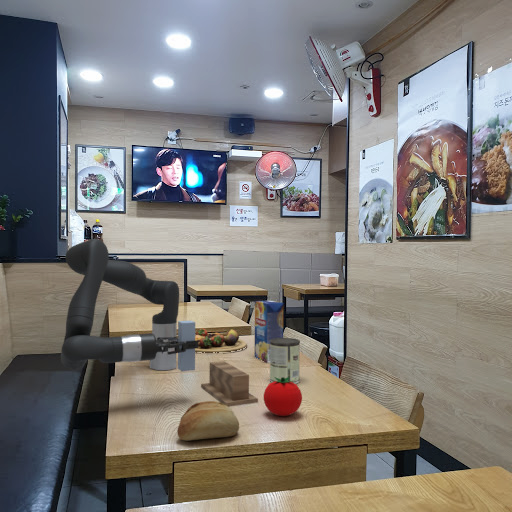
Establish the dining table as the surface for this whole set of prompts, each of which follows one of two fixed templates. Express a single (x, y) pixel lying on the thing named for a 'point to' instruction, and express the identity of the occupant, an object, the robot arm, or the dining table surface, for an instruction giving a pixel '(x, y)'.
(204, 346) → the wooden plate with food
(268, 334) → the juice carton
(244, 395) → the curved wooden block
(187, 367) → the blue gray rectangular block
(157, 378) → the dining table surface
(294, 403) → the tomato
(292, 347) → the coffee can
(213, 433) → the bread roll
